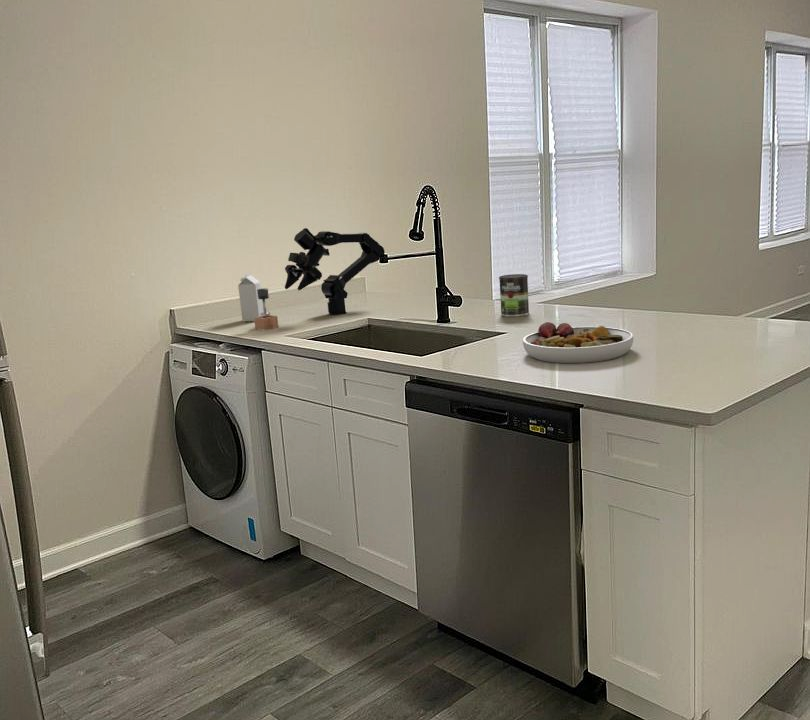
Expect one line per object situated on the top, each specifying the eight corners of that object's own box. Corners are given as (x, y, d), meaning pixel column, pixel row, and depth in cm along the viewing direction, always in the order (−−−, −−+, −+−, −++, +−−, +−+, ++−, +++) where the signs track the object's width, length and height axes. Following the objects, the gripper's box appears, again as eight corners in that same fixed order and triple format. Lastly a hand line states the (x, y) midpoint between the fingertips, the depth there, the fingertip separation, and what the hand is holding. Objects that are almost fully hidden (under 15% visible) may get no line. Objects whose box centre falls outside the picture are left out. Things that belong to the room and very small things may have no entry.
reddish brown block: (269, 325, 326) (268, 314, 325) (282, 327, 319) (281, 316, 318) (255, 328, 322) (253, 317, 321) (267, 330, 315) (266, 319, 314)
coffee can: (525, 316, 299) (523, 277, 296) (497, 317, 303) (495, 278, 300) (532, 311, 308) (530, 273, 305) (505, 312, 312) (503, 274, 309)
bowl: (657, 350, 231) (656, 322, 229) (580, 371, 214) (579, 341, 212) (575, 339, 255) (574, 313, 253) (501, 357, 238) (500, 330, 237)
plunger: (267, 313, 323) (264, 288, 321) (272, 314, 320) (269, 288, 318) (258, 315, 321) (255, 289, 319) (263, 315, 318) (260, 290, 316)
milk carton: (264, 318, 346) (258, 272, 342) (259, 321, 339) (254, 274, 335) (247, 319, 347) (241, 273, 343) (242, 322, 340) (236, 275, 336)
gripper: (286, 244, 334) (265, 275, 330) (312, 244, 320) (290, 277, 315) (305, 262, 341) (284, 292, 336) (331, 263, 326) (310, 295, 322)
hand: (291, 289), depth 327 cm, fingers open, 9 cm apart
